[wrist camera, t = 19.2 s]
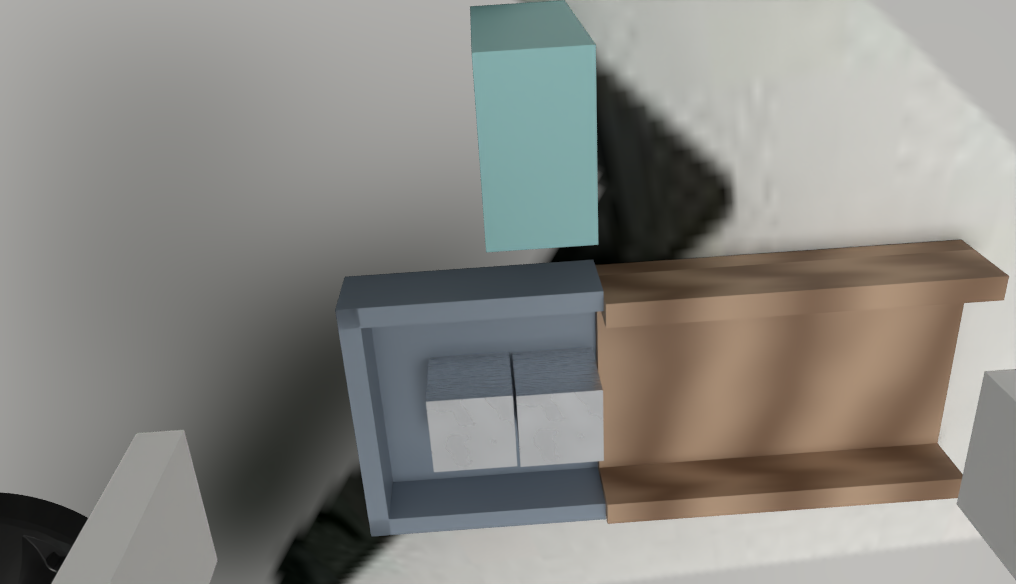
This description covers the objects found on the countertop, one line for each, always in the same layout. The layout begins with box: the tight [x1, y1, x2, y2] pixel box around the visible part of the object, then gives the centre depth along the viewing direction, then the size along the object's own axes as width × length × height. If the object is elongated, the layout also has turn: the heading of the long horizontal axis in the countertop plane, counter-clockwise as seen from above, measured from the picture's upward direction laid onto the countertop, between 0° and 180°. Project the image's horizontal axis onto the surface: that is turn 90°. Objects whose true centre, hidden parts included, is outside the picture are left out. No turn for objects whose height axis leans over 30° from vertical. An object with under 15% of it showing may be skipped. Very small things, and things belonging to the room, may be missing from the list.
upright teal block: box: [470, 0, 598, 252], centre depth 35 cm, size 4×7×10 cm, turn 3°
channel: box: [595, 240, 1009, 524], centre depth 44 cm, size 18×12×4 cm
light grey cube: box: [512, 347, 604, 467], centre depth 43 cm, size 4×4×4 cm
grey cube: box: [426, 352, 517, 472], centre depth 43 cm, size 4×4×4 cm
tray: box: [335, 260, 606, 536], centre depth 44 cm, size 12×13×4 cm
